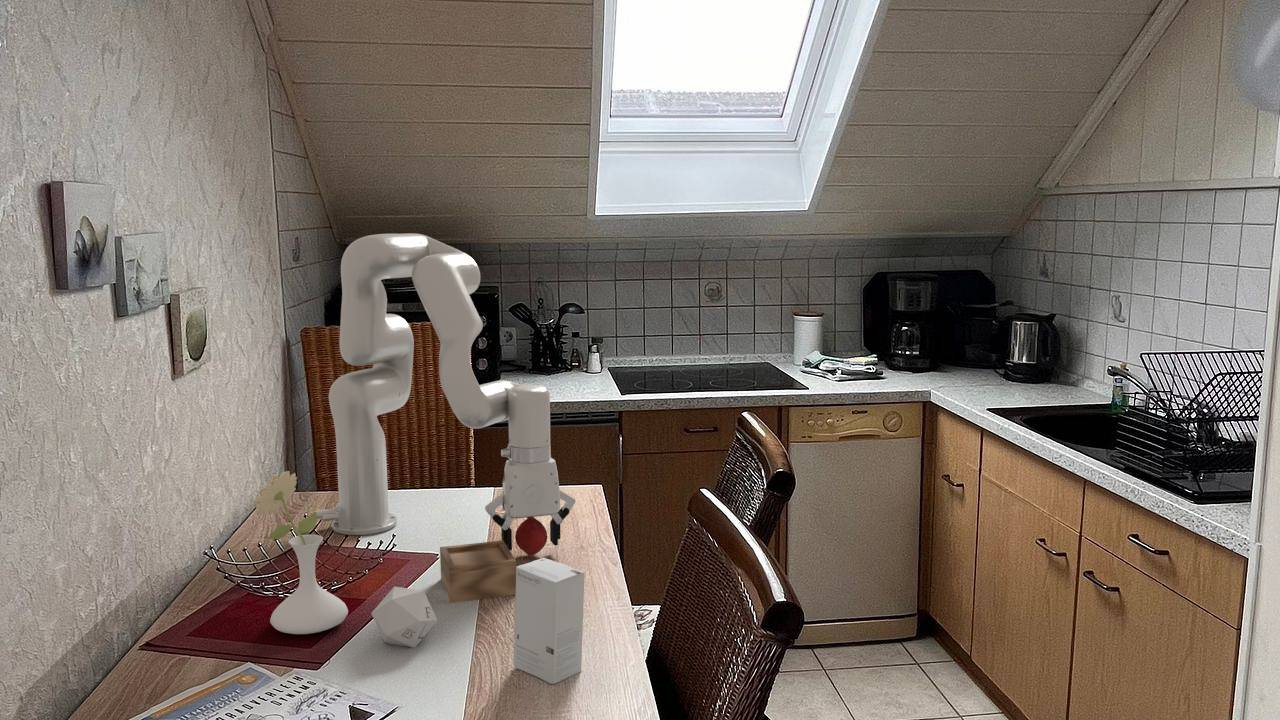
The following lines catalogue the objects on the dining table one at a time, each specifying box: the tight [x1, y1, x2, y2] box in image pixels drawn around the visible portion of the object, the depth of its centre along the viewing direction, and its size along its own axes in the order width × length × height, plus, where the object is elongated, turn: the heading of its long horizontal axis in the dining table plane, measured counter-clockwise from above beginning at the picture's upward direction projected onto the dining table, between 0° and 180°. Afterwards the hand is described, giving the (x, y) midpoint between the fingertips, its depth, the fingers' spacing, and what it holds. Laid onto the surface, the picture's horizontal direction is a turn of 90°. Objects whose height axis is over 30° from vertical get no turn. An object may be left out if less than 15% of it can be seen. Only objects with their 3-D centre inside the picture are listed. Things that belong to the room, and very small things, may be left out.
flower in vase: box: [252, 470, 349, 635], centre depth 151 cm, size 13×11×25 cm
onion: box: [514, 517, 548, 557], centre depth 184 cm, size 6×6×8 cm
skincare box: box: [513, 557, 585, 685], centre depth 137 cm, size 8×6×15 cm
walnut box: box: [439, 539, 517, 604], centre depth 169 cm, size 11×11×6 cm
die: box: [371, 585, 438, 649], centre depth 147 cm, size 8×9×10 cm
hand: (531, 545), depth 184 cm, fingers open, 8 cm apart
